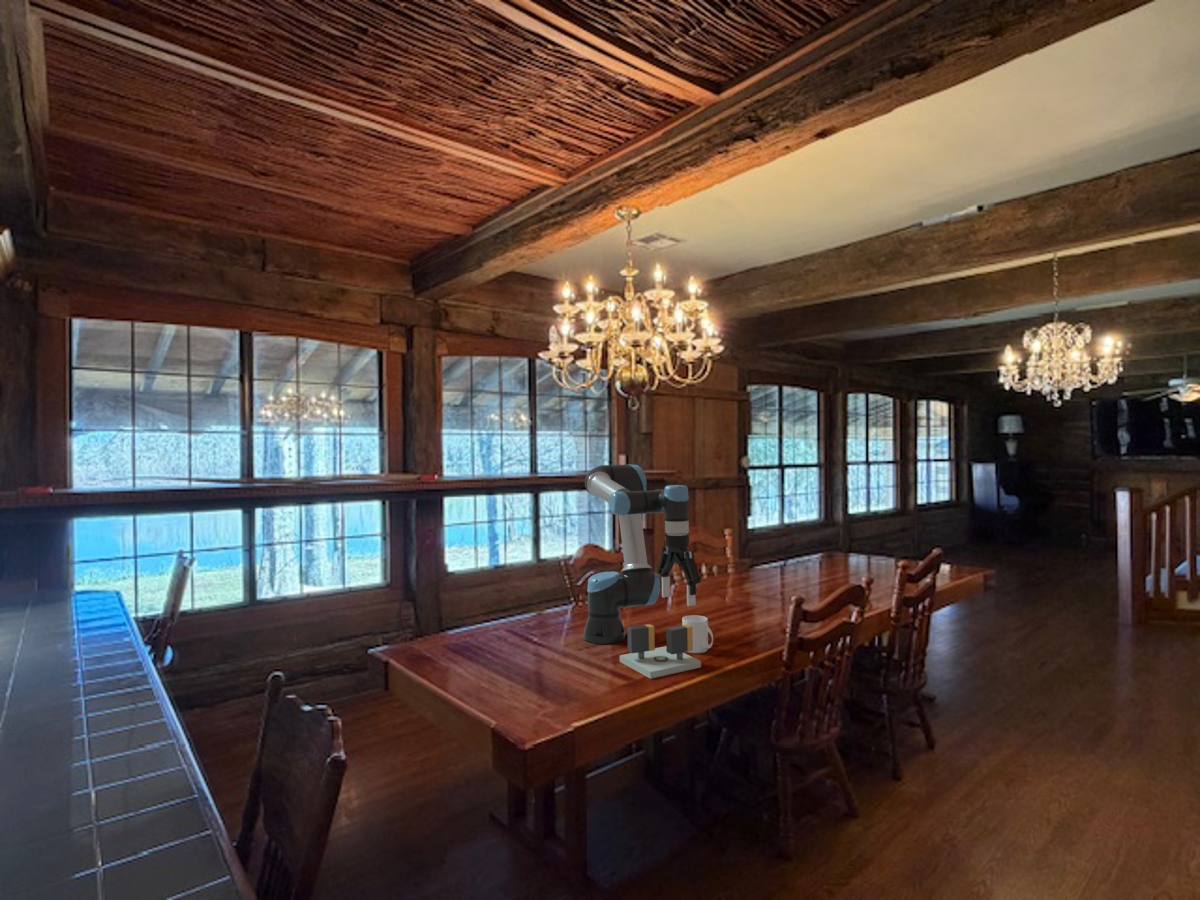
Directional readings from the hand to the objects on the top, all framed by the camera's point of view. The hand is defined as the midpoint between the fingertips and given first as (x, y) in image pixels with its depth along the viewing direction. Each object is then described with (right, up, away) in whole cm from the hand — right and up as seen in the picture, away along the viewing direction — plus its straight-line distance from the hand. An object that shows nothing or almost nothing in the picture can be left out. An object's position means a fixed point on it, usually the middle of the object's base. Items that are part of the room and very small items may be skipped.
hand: (678, 601), depth 202 cm
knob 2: (0, -19, 0) cm, 19 cm away
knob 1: (-12, -19, +2) cm, 22 cm away
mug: (+9, -21, +14) cm, 26 cm away
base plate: (-6, -21, +1) cm, 21 cm away
